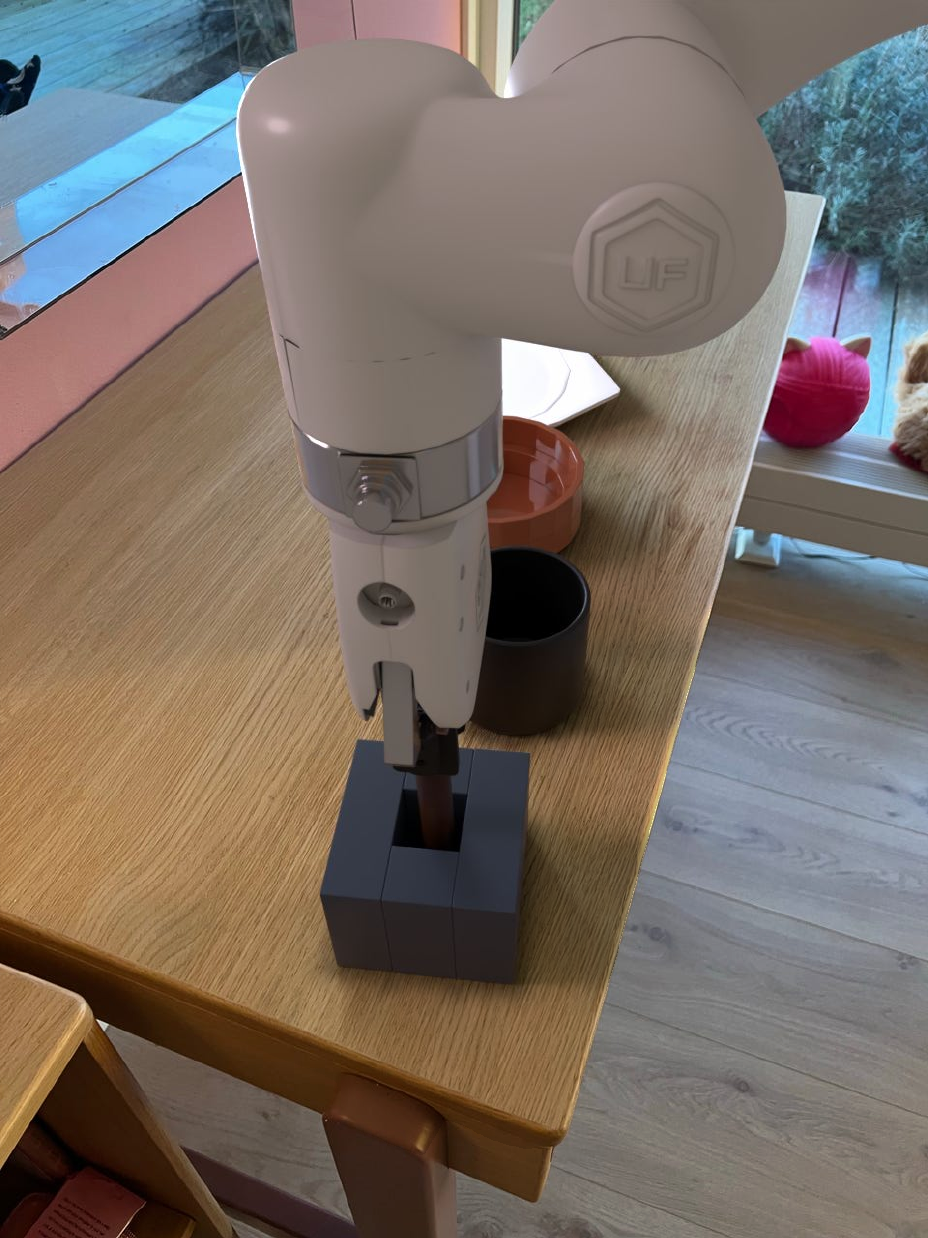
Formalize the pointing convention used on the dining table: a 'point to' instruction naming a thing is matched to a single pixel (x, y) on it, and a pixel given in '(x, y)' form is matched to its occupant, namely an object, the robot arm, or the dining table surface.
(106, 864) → the dining table surface
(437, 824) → the stick
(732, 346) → the dining table surface
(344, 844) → the holder
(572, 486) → the bowl
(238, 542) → the dining table surface
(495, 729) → the mug
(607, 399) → the plate
